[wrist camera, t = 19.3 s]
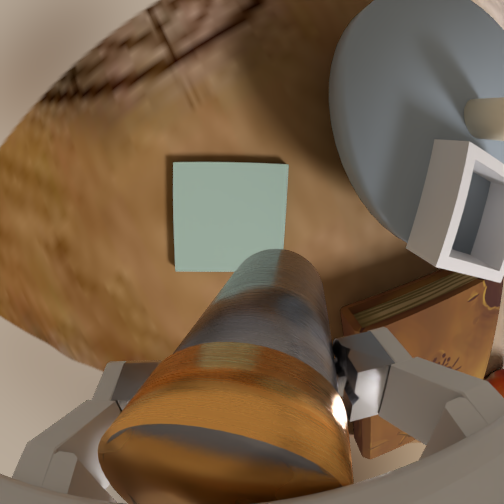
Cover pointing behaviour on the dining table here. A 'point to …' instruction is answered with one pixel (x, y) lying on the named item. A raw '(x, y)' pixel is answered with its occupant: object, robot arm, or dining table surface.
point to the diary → (428, 334)
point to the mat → (226, 213)
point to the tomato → (497, 381)
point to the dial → (426, 127)
